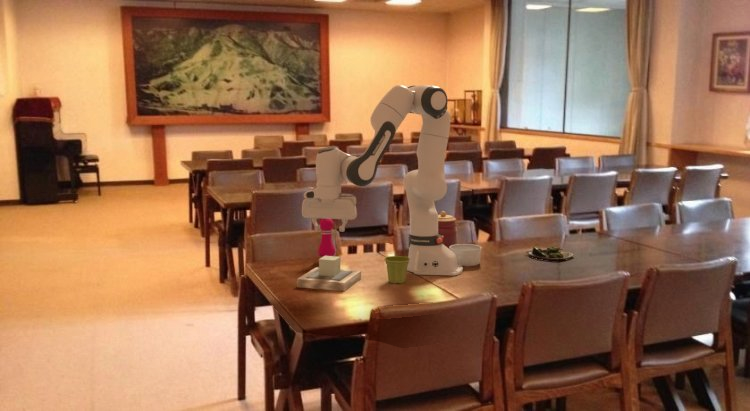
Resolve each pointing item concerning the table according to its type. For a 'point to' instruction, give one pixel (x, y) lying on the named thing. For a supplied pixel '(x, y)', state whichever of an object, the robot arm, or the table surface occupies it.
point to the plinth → (329, 280)
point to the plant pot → (397, 268)
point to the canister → (447, 229)
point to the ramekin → (467, 254)
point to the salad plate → (549, 254)
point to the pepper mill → (326, 238)
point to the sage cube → (329, 266)
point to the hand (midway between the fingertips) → (329, 230)
